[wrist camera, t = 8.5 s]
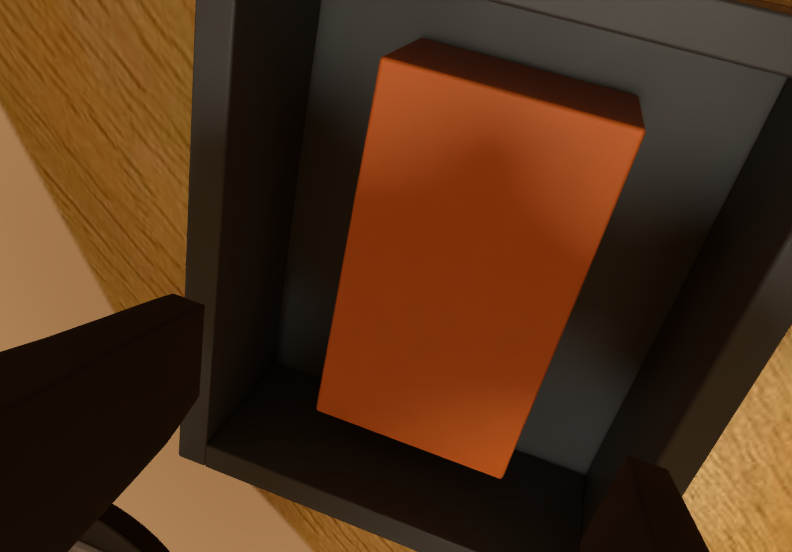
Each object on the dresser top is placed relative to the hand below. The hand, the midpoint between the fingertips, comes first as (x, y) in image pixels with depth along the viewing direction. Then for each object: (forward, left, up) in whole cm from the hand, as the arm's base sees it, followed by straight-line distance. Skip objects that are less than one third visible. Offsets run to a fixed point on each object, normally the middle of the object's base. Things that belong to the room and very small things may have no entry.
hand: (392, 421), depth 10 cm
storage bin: (0, 0, -8) cm, 8 cm away
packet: (0, 0, -7) cm, 7 cm away
